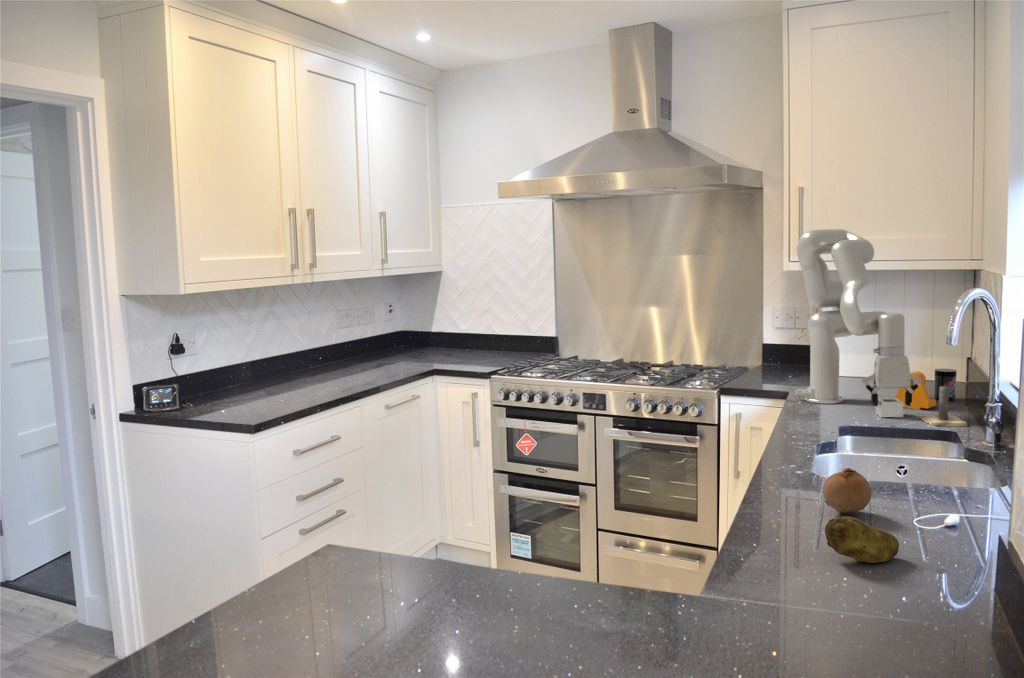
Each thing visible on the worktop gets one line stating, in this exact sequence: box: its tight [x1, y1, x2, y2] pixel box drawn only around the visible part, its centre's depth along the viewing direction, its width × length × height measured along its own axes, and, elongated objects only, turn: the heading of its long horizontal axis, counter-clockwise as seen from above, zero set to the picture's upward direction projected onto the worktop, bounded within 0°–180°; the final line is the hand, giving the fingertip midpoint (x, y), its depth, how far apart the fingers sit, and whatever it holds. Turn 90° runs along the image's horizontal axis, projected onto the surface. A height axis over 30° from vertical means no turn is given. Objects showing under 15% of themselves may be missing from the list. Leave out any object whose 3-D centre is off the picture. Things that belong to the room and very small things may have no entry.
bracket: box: [894, 370, 937, 410], centre depth 265 cm, size 11×7×12 cm
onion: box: [822, 467, 873, 514], centre depth 167 cm, size 10×9×10 cm
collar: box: [875, 397, 904, 418], centre depth 254 cm, size 6×6×5 cm
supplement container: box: [933, 368, 958, 402], centre depth 274 cm, size 7×7×10 cm
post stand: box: [919, 386, 968, 427], centre depth 242 cm, size 10×10×11 cm
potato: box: [824, 515, 900, 564], centre depth 143 cm, size 8×13×8 cm, turn 75°
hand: (891, 405), depth 253 cm, fingers open, 9 cm apart
